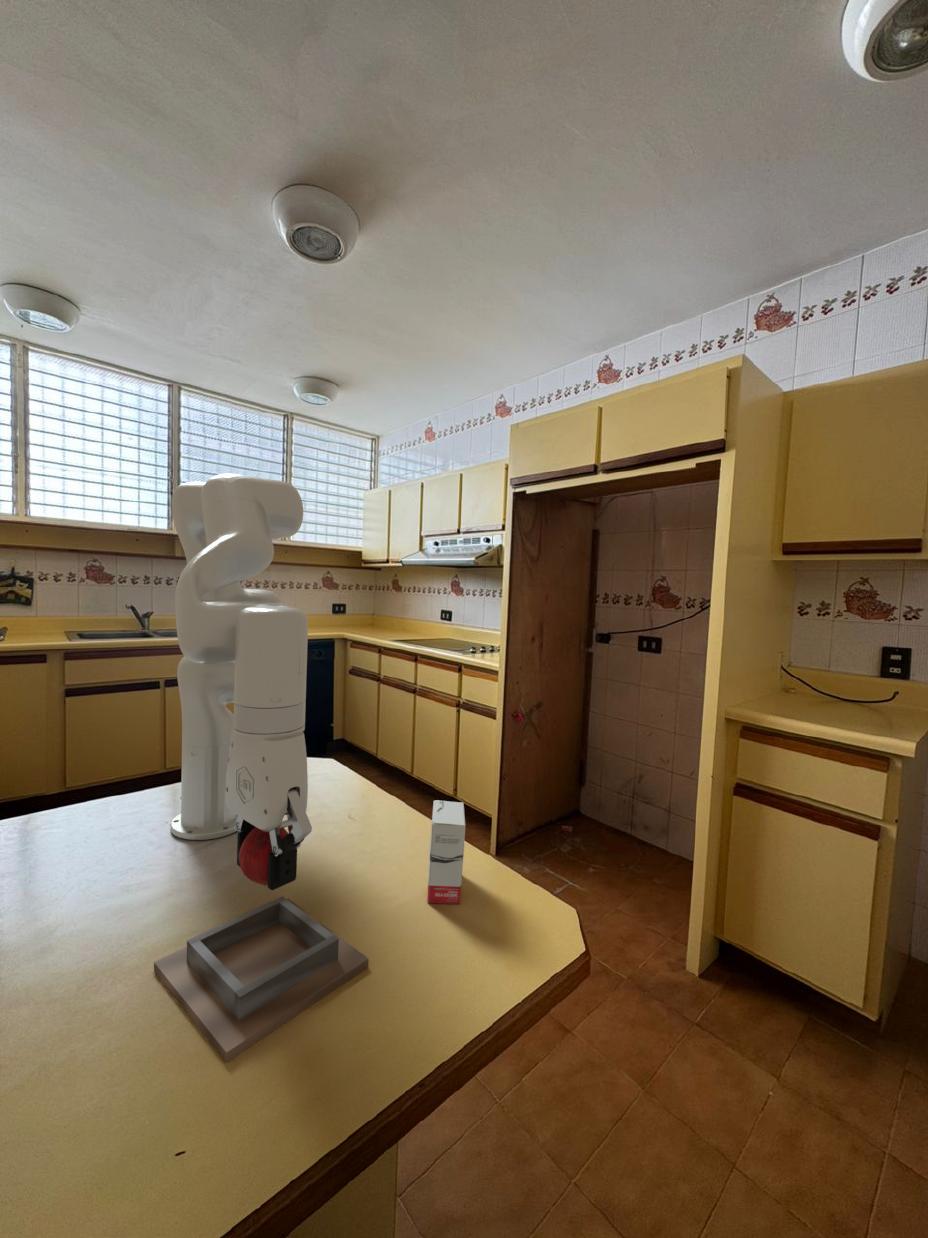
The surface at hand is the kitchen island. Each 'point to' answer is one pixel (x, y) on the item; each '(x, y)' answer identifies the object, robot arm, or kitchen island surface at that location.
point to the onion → (257, 855)
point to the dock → (257, 973)
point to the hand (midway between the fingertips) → (266, 871)
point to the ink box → (446, 852)
